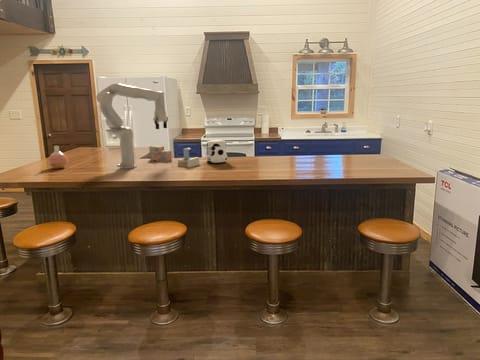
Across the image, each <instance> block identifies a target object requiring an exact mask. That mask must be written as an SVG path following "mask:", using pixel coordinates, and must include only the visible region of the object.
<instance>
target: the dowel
mask: <svg viewBox="0 0 480 360" xmlns="http://www.w3.org/2000/svg"><path fill="white" fill-rule="evenodd" d="M183 158H184V160H188V159H189V158H190V149H189V148H188V147H187V148H183Z"/></svg>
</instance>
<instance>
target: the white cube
mask: <svg viewBox="0 0 480 360" xmlns="http://www.w3.org/2000/svg"><path fill="white" fill-rule="evenodd" d="M205 159H206V162H207V163H208V164H215V165H216V164H224V163H226V162H227V161H228V154H227V143H226V140H224V139H213V140H212V139H211V140H207V141H206V153H205Z"/></svg>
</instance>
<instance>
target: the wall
mask: <svg viewBox="0 0 480 360" xmlns="http://www.w3.org/2000/svg"><path fill="white" fill-rule="evenodd" d="M187 161H188V167H187V168H192V167H196V166H199V165H200V157H198V156H196V157H193V158H192V159H188V160H187Z"/></svg>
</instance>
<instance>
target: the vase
mask: <svg viewBox="0 0 480 360" xmlns="http://www.w3.org/2000/svg"><path fill="white" fill-rule="evenodd" d="M53 148H54V149H53V150H54V151H53V152H52V153H51V154H50V156H48V160H47V161H48V165H49V166H50V167H51V168H53V169H54V170H60V169H59V168H62V169H64V168H65V167H67V165H68V163H69V159H68V157H67V155H66V154H65V153H63V152H61V151H60V146H59V145H53Z"/></svg>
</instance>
